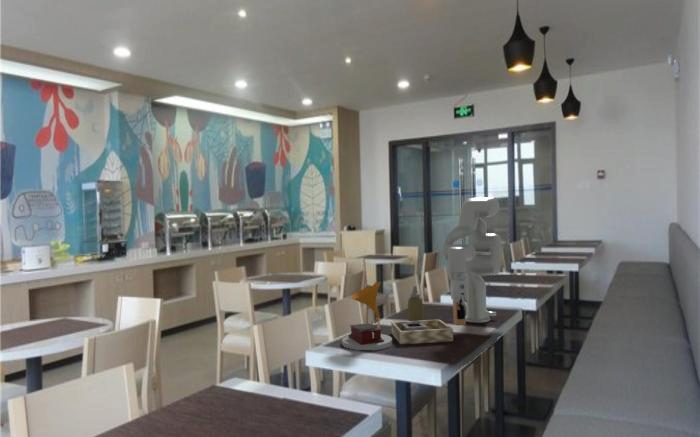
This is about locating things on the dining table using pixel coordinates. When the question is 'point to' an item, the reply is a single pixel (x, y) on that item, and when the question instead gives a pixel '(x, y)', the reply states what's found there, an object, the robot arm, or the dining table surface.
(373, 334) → the gramophone
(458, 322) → the orange canister
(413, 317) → the squeeze bottle
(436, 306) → the dining table surface
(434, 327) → the box
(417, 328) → the socket
